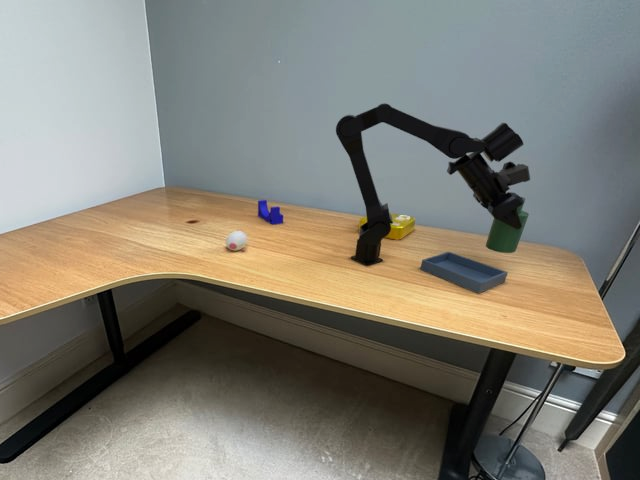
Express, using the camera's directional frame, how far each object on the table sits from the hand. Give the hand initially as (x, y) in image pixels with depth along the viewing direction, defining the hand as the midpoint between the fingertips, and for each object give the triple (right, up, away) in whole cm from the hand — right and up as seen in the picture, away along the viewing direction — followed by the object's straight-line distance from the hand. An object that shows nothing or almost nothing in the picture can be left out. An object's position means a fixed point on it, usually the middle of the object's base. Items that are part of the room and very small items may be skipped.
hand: (514, 223), depth 92 cm
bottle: (-1, -6, +3) cm, 7 cm away
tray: (-11, -13, +5) cm, 17 cm away
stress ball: (-71, -4, +22) cm, 74 cm away
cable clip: (-59, +10, +49) cm, 77 cm away
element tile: (-19, +4, +37) cm, 42 cm away
